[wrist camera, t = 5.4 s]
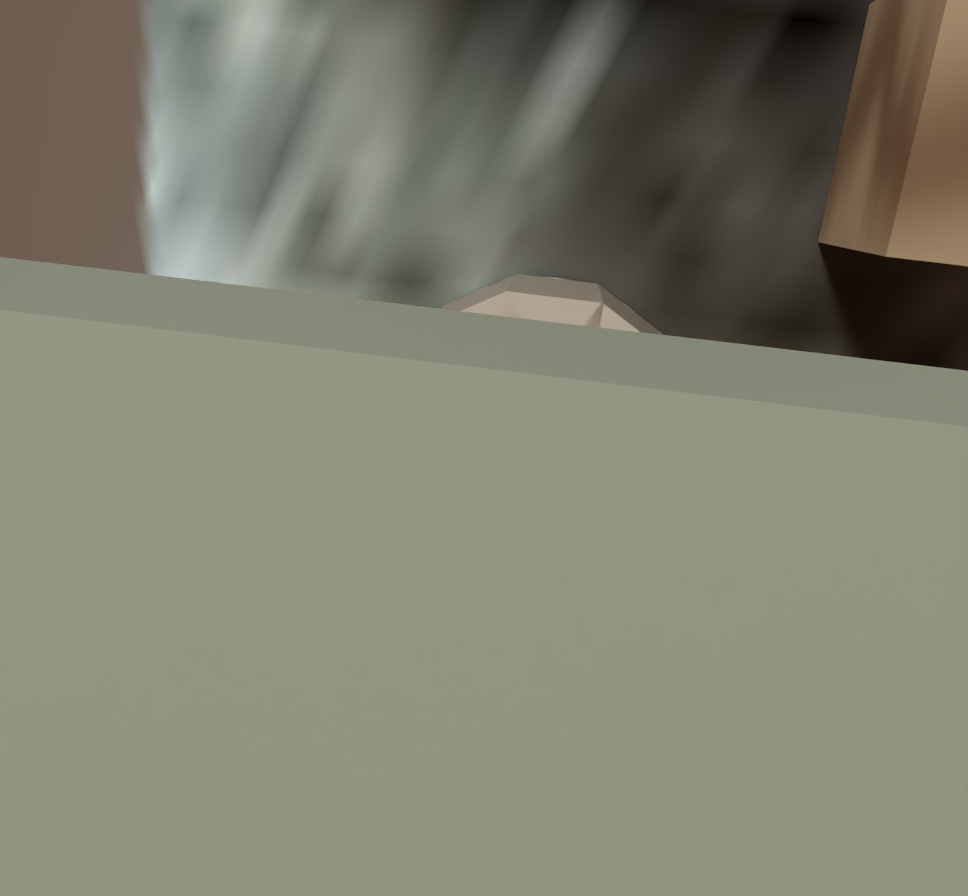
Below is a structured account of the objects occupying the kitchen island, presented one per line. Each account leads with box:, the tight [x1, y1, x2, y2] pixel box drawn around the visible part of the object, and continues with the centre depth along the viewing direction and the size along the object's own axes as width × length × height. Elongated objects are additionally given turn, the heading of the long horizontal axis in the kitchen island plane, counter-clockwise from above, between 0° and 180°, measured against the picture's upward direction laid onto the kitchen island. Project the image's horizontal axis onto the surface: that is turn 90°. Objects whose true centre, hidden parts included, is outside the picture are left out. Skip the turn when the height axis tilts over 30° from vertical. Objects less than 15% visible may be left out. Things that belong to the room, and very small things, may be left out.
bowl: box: [441, 274, 662, 335], centre depth 24 cm, size 8×8×5 cm
